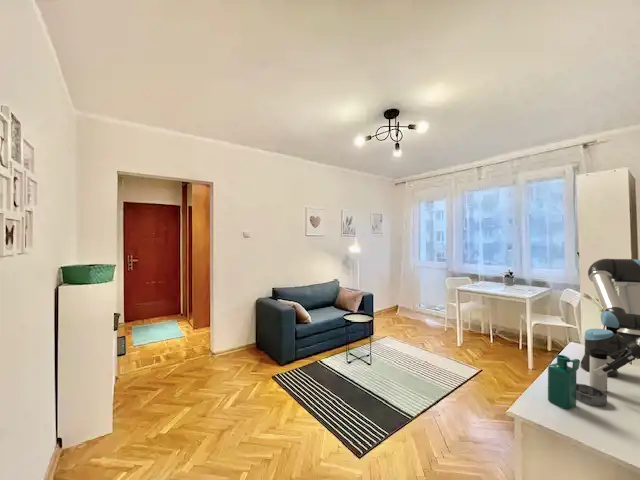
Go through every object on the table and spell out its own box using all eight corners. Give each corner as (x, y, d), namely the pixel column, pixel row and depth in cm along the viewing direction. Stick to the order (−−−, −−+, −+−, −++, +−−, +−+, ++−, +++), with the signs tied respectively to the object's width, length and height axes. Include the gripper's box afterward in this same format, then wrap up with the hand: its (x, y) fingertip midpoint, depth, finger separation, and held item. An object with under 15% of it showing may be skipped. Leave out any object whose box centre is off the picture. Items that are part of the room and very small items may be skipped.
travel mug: (611, 394, 135) (611, 353, 135) (595, 392, 137) (595, 352, 137) (601, 387, 142) (601, 348, 141) (586, 386, 143) (586, 347, 143)
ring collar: (583, 390, 139) (583, 382, 139) (614, 405, 127) (614, 396, 127) (563, 393, 136) (563, 385, 136) (592, 408, 124) (592, 399, 124)
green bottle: (545, 400, 130) (546, 353, 130) (556, 396, 134) (556, 351, 133) (571, 412, 121) (571, 362, 121) (581, 407, 125) (582, 359, 124)
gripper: (654, 363, 117) (603, 384, 129) (651, 347, 134) (606, 368, 145) (635, 347, 121) (587, 369, 133) (634, 333, 138) (592, 354, 149)
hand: (597, 368), depth 139 cm, fingers open, 13 cm apart
